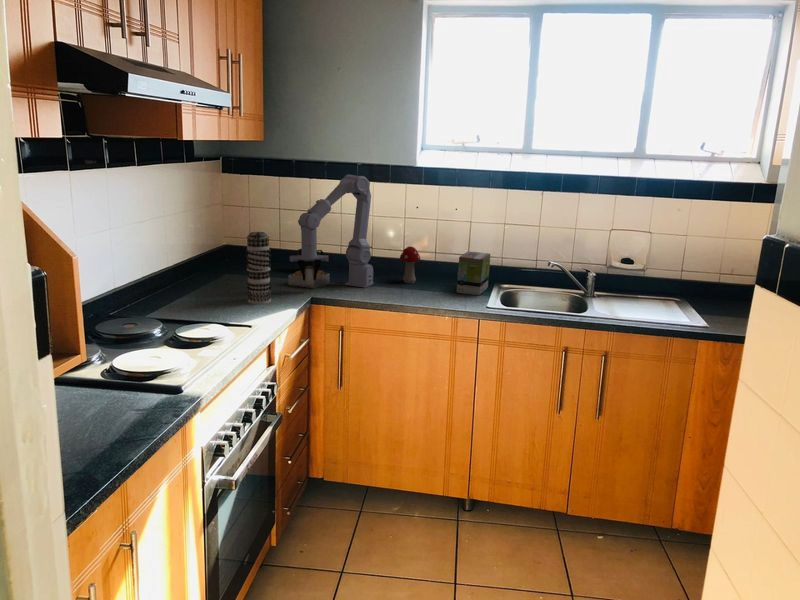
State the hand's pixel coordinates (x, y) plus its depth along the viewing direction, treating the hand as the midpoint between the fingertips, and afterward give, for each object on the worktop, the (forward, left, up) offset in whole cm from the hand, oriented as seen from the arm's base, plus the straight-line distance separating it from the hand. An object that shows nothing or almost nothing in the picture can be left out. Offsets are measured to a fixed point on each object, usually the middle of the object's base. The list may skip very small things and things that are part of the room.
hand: (309, 279), depth 254 cm
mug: (+20, -33, -5) cm, 39 cm away
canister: (0, 0, -2) cm, 2 cm away
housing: (+7, -11, -5) cm, 14 cm away
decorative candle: (+8, +21, -5) cm, 23 cm away
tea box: (-54, -37, -5) cm, 66 cm away
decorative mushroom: (-26, -37, -5) cm, 45 cm away
